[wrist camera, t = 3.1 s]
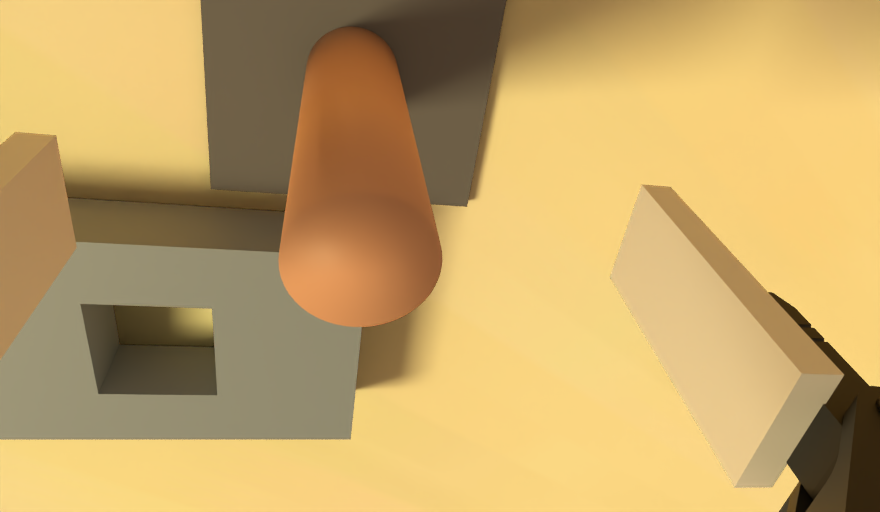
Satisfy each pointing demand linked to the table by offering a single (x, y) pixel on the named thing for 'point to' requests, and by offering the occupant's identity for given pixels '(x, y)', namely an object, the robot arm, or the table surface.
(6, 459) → the table surface
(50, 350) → the hole block
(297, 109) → the mat
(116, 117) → the table surface
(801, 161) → the table surface
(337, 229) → the peg
